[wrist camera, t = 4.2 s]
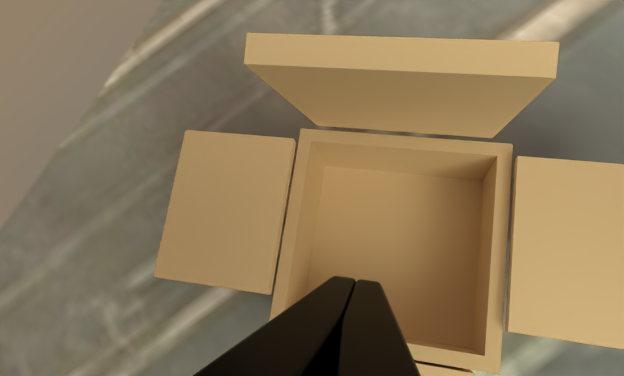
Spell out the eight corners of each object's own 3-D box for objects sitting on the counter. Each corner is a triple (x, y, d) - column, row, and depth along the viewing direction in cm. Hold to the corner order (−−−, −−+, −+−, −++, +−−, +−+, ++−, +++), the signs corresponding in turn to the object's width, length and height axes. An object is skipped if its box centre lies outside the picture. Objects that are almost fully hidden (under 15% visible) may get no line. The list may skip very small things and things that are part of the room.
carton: (609, 401, 18) (670, 427, 14) (191, 327, 22) (141, 330, 18) (611, 184, 20) (665, 150, 16) (226, 151, 24) (188, 116, 20)
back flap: (492, 138, 17) (555, 77, 9) (317, 125, 18) (243, 63, 11) (494, 118, 17) (559, 41, 9) (319, 107, 18) (247, 32, 11)
